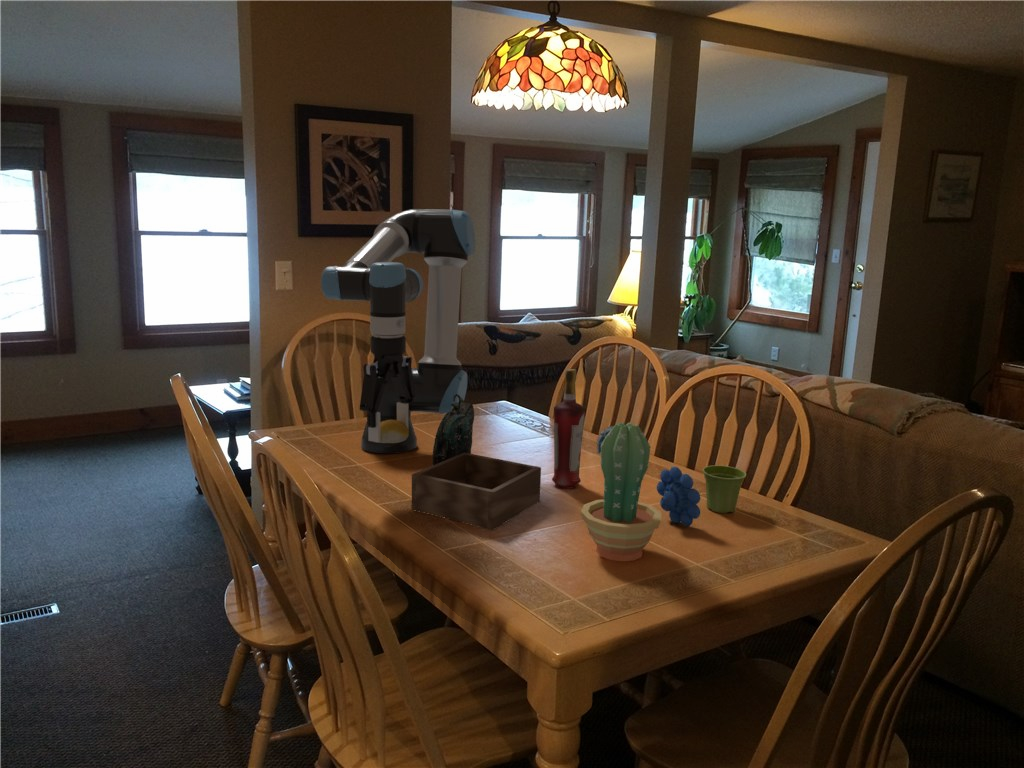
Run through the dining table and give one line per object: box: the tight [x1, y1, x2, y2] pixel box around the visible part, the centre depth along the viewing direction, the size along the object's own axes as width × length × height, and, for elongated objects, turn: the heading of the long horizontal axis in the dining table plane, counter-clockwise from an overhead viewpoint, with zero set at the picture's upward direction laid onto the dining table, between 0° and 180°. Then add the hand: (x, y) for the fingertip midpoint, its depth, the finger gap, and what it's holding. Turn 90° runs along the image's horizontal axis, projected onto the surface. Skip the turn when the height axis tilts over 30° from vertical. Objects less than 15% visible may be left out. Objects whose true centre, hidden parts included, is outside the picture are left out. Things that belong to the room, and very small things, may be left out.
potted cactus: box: [580, 422, 663, 562], centre depth 151 cm, size 15×15×25 cm
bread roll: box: [380, 420, 409, 443], centre depth 176 cm, size 8×9×4 cm
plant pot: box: [702, 464, 747, 514], centre depth 178 cm, size 9×9×9 cm
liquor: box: [551, 368, 586, 489], centre depth 189 cm, size 7×7×28 cm
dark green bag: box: [432, 394, 475, 466], centre depth 195 cm, size 20×6×20 cm, turn 164°
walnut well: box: [411, 452, 542, 531], centre depth 175 cm, size 20×20×8 cm
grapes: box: [656, 466, 701, 527], centre depth 167 cm, size 12×7×12 cm, turn 37°
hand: (388, 436), depth 177 cm, fingers closed on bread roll, 9 cm apart
